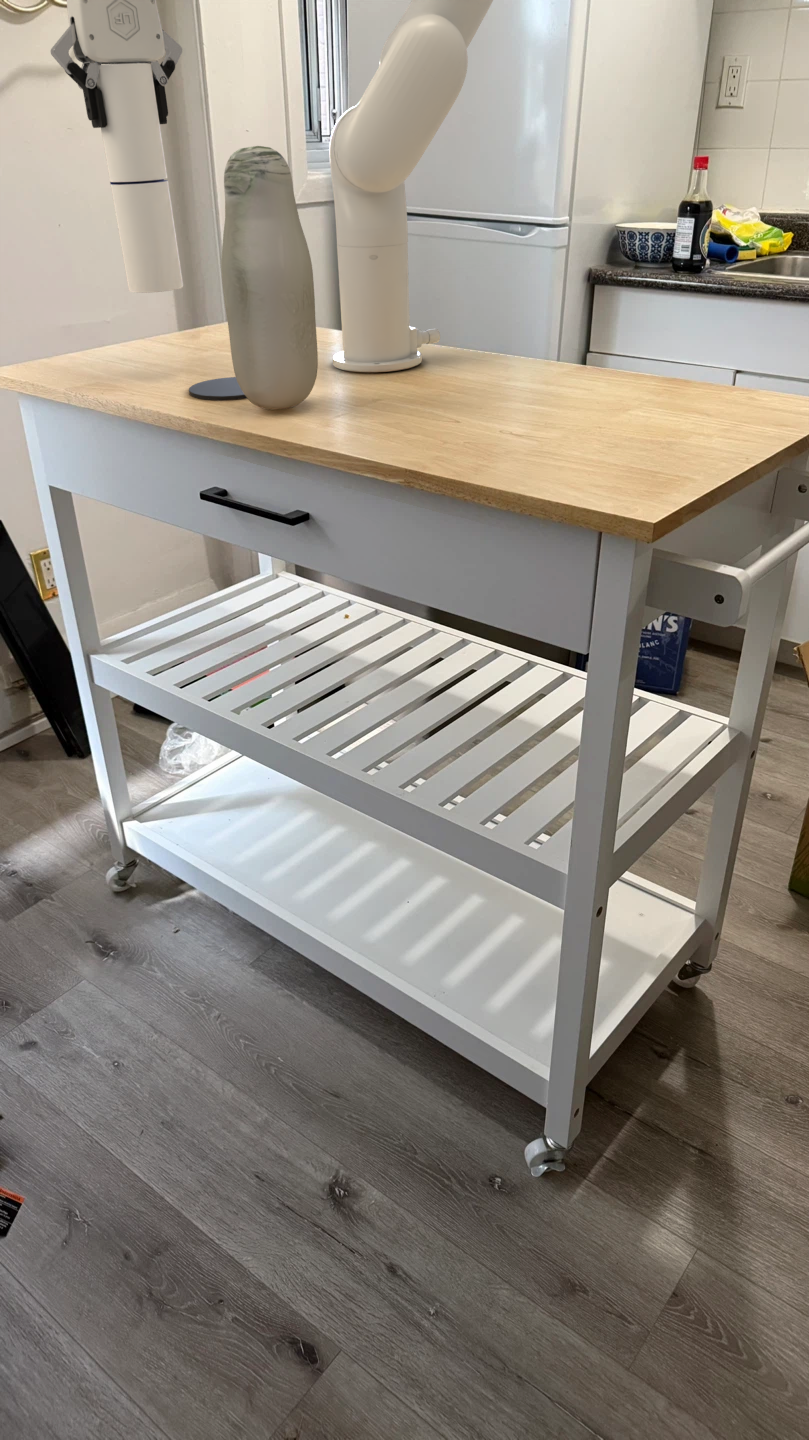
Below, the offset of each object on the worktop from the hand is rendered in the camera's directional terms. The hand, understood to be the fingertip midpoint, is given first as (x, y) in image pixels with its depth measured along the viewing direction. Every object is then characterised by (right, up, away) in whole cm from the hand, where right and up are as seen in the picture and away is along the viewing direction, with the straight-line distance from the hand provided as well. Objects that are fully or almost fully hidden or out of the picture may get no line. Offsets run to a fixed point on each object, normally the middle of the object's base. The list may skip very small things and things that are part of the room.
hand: (130, 124), depth 126 cm
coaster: (+11, -30, +8) cm, 33 cm away
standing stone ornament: (+18, -35, -1) cm, 40 cm away
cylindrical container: (+1, -16, +10) cm, 19 cm away
